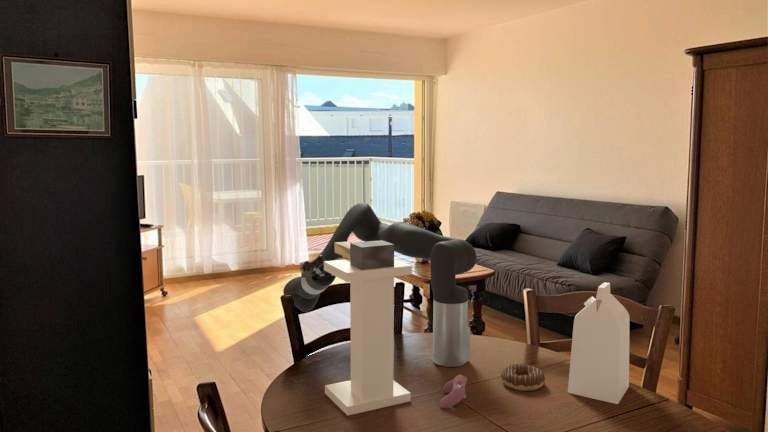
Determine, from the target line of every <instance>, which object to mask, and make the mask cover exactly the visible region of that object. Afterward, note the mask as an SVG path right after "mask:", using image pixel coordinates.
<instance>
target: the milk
mask: <svg viewBox="0 0 768 432" xmlns="http://www.w3.org/2000/svg"><path fill="white" fill-rule="evenodd" d="M595 296H596V297H594V296H590V298H588V299H587V300H586V301H584V303H583V305H584V306H585V307H583V308H582V309H581V310H580V311H579V312H578V313H577V314H575V316H574V319H573V328H572V336H571V337H572V340H571V348H570V349H571V351H570V352H571V353H570V360H569V364H570V365H569V371H568V373H569V374H568V382H567V383H568V385H567V394H572V395H576V396H579V397H585V398H589V399H593V400H598V401H603V402H607V403H610V404H611V403H612V404H615V405H618V404H620V402H621V400H622V398H623V397H624V395H626V394H625V393H626V392H627V390H628V389H629V387H630V314H629V312H628V310H627V309H626V307H625V306H624V305H623V304H621V302H620V301H619V300H618V299H617V298H616V297H615V296H614V295H613V294H612V293H611V283H610V282H605V281H604V282H603V283H601V284H600V285H598V287H597V292H596V295H595Z"/></svg>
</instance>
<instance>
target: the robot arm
mask: <svg viewBox="0 0 768 432" xmlns="http://www.w3.org/2000/svg"><path fill="white" fill-rule="evenodd" d="M352 233H353V234H354V236H355V237H356V238H357V239H358V240H359V241H361V242H367V241H379V240H383V241H386V242H389V243H392V244H394V253H398V254H399V255H402V256H405V257H409V258H415V259H426V260H427V259H428V260H429V268H430V286H431V290H432V291H431V292H432V294H433V295H432V296H433V300H432V301H433V303H432V304H433V307H432V308H433V309H432V310H433V312H432V313H433V314H432V317H433V319H432V362H433V363H434V364H436V365H438V366H442V367H449V368H453V367H461V366H464V365H466V364H467V363H468V362H470V361H471V360H470V359H471V357H470V356H471V327H470V326H468V315H469V314H468V312H469V311H468V308H469V305H468V302H469V292H468V289H466V288H465V287H463V286H461V285H457V279H456V275H462V274H464V273H467V272H470V271H471V270H472V269H473V268H474V267H475V265H476V264H477V253H476V250H475V248H474V247H473V245H472V244H471V243H469V242H468V241H467V240H465V239H461V238H455V237H449V236H445V235H441V234H438V233H436V232H433V231H430V230H428V229H425V228H421V227H419V226H417V225H414V224H412V223H408V222H406V221H396V222H393V223H392V224H390V225H387V224H384V223H383V222H382V221H381V220H380V219H379V217H378V216H377V214H376V213H375V212H374V209H373V208H372V207H371V206H370V204H368V203H367V202H359V203H357V204H354V205H353V206H351V207H350V208H349V210H348V211H346V213H345V214H344V216H343V218H342V219H341V221H340V223H339V224H338V226H337V227H336V229H335V231H334V232H333V234H332V236H331V237H330V240H329V241H328V242H327V244H326V246H325V247H324V248H323V249H322V251H321V252H320V254H318V256H317V257H316V258H315V259H312V260H311V262H310V260H308V261H307V260H306V261H304V262H303V263H302V265H301V266H300V268H299V271H300V276H296V277H294V278H292V279H290V280H289V281H288V282H287V283H286V284H285V285H284V287H283V293H282V294H283V296H284V298H286V297H291V296H292V298H293V297H294V299H293V300H294V304H295V305H294V304H293V305H294V306H295V307H296V308H297V309H298V310H300V311H301V312H303V313H307V312H310V311H312V310H313V309H314V308H315V306H316V304H317V303H318V300H319V298H320V295H321V293H323V292H324V291H325V290H326V289H328V287H329V286H330V285H332V284H333V282H334V281H335V280H336V276H334V275H332V274H330V273H329V272H327V271H325V270H324V261H334V260H344V259H348V258H346V257H344V256H342V255H339V254H337V253H335V245H334V243H335V242H348V240H349V238H350V236H351V234H352ZM286 295H291V296H286ZM300 298H301V299H300Z"/></svg>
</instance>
